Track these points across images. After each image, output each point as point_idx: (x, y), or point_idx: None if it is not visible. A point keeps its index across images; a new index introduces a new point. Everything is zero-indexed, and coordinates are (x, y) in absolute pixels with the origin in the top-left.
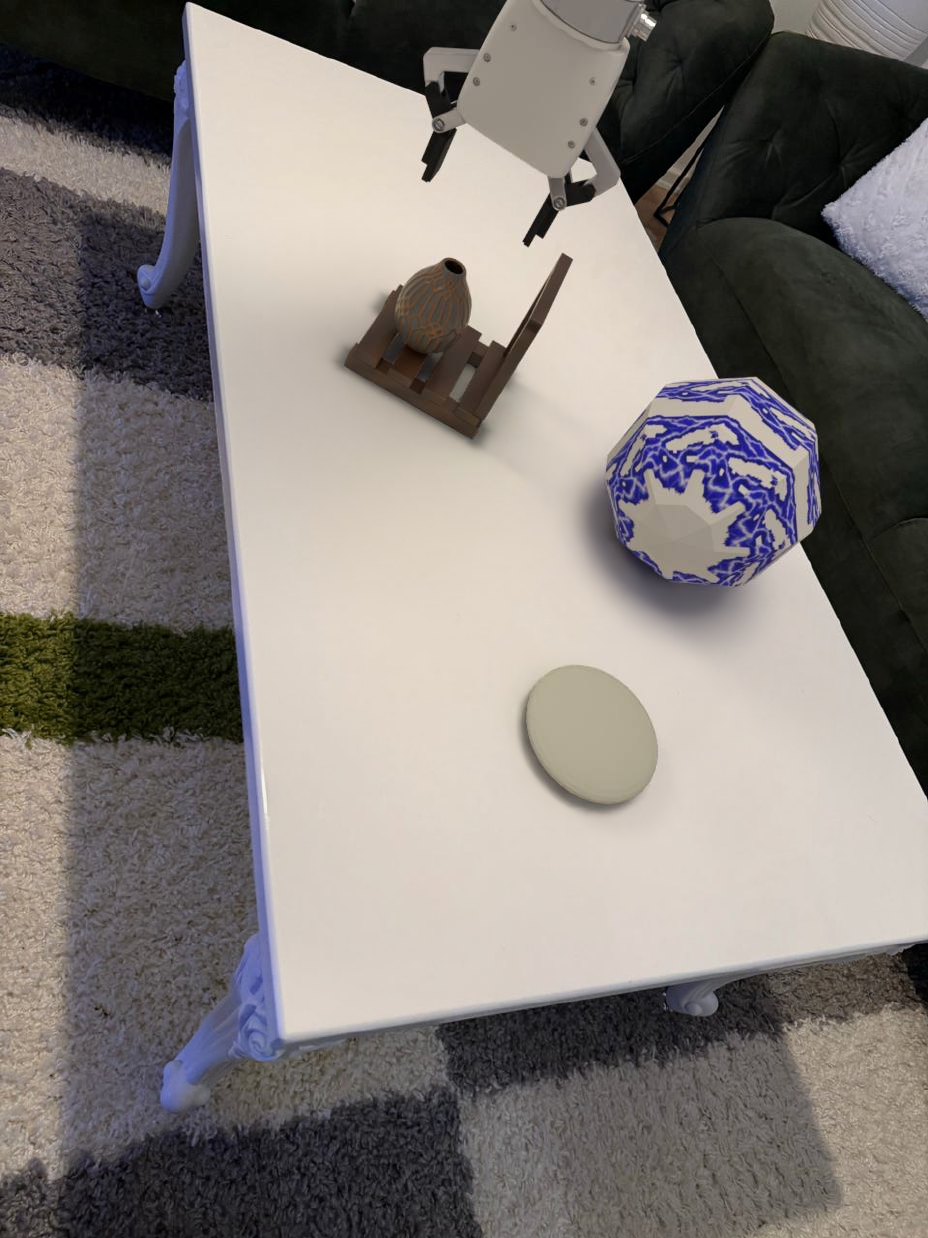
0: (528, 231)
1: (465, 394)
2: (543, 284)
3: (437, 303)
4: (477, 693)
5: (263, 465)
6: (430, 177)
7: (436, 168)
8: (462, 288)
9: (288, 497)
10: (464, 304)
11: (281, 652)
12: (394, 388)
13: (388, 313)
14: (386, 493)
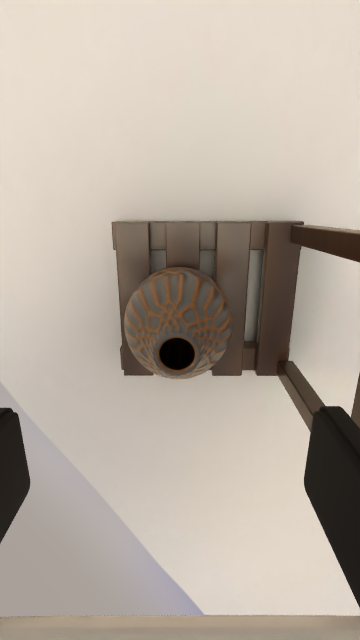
0: (319, 517)
1: (260, 351)
2: (351, 234)
3: (182, 378)
4: (340, 567)
5: (126, 497)
6: (22, 501)
7: (11, 500)
8: (206, 357)
9: (156, 510)
10: (219, 353)
11: (207, 595)
12: None
13: (128, 293)
14: (223, 467)
